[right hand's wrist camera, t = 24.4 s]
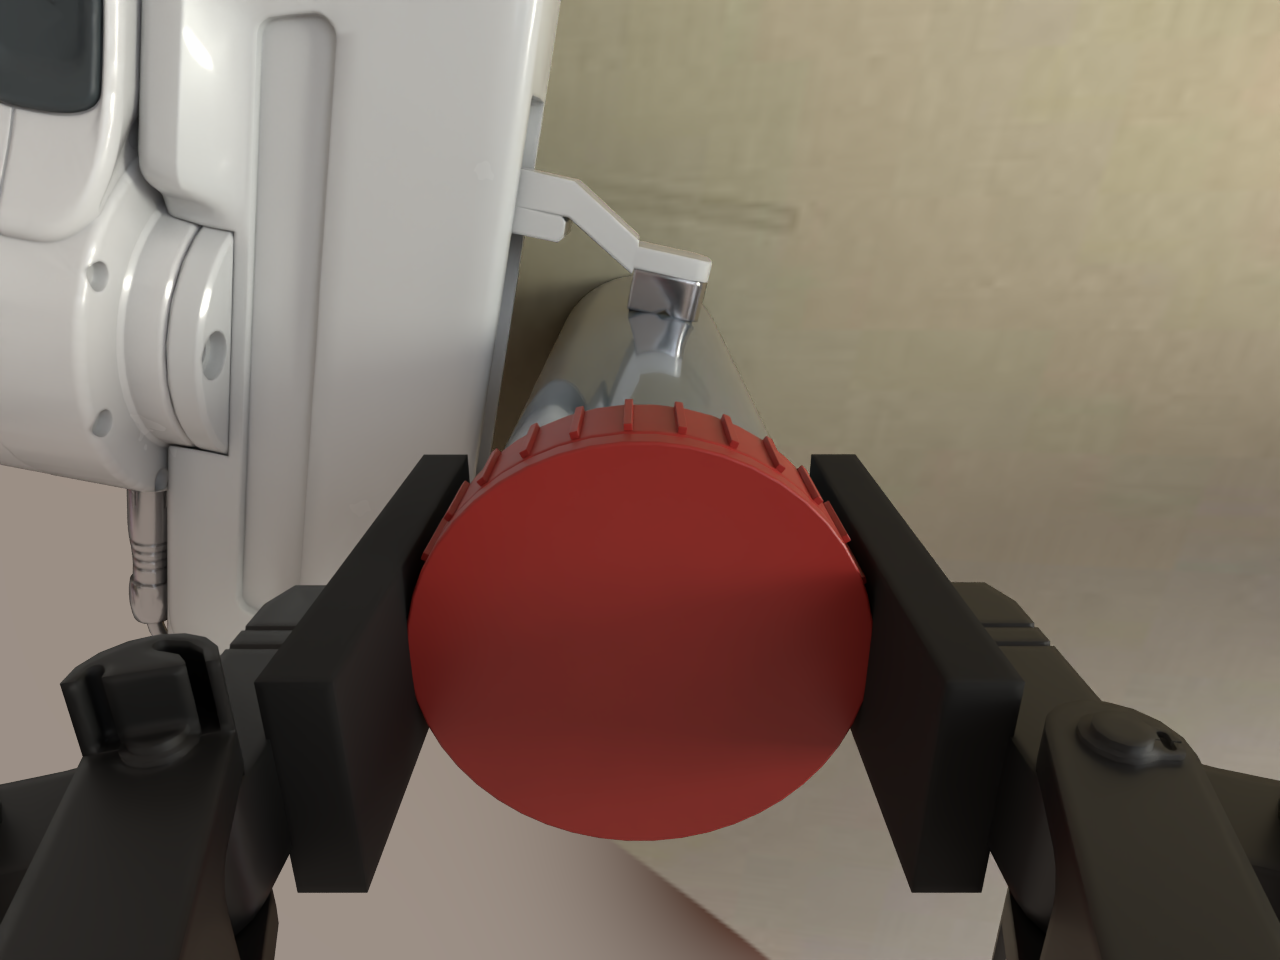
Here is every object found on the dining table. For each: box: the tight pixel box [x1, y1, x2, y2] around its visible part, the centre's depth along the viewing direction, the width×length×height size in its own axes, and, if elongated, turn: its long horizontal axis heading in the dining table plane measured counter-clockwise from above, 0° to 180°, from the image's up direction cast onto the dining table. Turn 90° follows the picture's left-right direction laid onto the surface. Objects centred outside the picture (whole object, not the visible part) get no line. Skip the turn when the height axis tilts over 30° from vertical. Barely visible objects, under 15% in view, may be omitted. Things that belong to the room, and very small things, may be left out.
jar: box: [504, 276, 770, 450], centre depth 19 cm, size 6×6×16 cm
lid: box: [407, 399, 873, 841], centre depth 11 cm, size 6×6×2 cm
